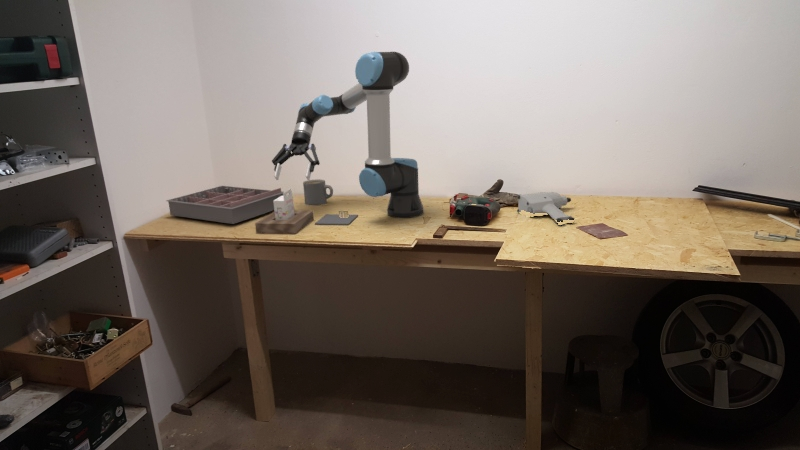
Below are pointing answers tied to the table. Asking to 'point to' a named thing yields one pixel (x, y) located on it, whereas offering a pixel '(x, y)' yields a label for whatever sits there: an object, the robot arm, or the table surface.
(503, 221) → the table surface
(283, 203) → the ink cartridge box
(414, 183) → the robot arm
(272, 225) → the cartridge holder
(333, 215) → the rubber mat
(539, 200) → the impact wrench
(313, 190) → the coffee mug
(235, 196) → the organizer tray
